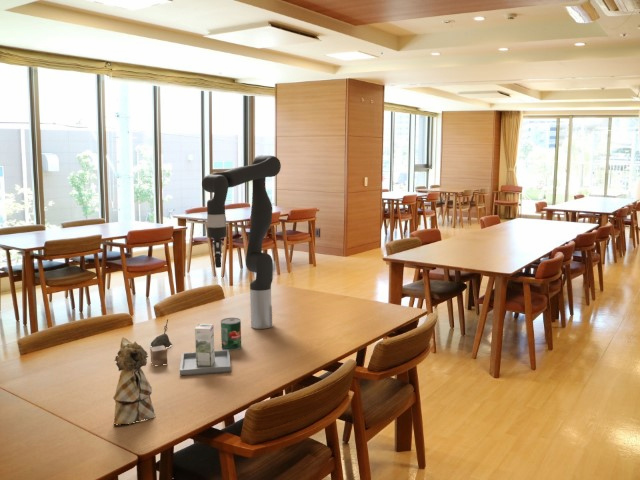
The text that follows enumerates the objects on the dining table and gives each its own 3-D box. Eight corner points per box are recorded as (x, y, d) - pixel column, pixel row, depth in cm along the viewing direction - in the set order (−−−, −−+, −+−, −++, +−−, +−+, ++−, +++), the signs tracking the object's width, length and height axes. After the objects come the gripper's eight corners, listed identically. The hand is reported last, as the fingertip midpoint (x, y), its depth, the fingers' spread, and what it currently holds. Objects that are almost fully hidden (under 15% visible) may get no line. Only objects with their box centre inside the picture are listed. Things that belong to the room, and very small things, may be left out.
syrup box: (215, 360, 221) (213, 323, 218) (211, 366, 215) (210, 328, 213) (200, 360, 221) (198, 323, 219) (196, 366, 215) (194, 328, 213)
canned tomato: (237, 351, 233) (236, 324, 231) (218, 349, 234) (217, 322, 233) (244, 344, 241) (243, 318, 239) (225, 343, 242) (224, 317, 240)
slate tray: (229, 355, 228) (229, 349, 228) (230, 372, 211) (230, 366, 211) (182, 358, 225) (182, 352, 225) (180, 376, 208) (179, 370, 208)
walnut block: (164, 360, 223) (163, 345, 222) (167, 365, 219) (166, 349, 218) (151, 362, 221) (150, 347, 220) (153, 367, 217) (152, 351, 216)
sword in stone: (144, 347, 239) (144, 317, 238) (160, 342, 246) (159, 314, 244) (161, 351, 233) (160, 322, 232) (176, 346, 240) (176, 317, 238)
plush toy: (170, 402, 185) (147, 328, 180) (160, 424, 171) (135, 344, 166) (126, 412, 185) (102, 338, 180) (113, 435, 171) (86, 356, 167)
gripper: (226, 227, 229) (228, 268, 232) (225, 222, 243) (227, 261, 246) (207, 228, 228) (208, 269, 231) (207, 223, 242) (208, 262, 245)
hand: (218, 265), depth 238 cm, fingers open, 8 cm apart
